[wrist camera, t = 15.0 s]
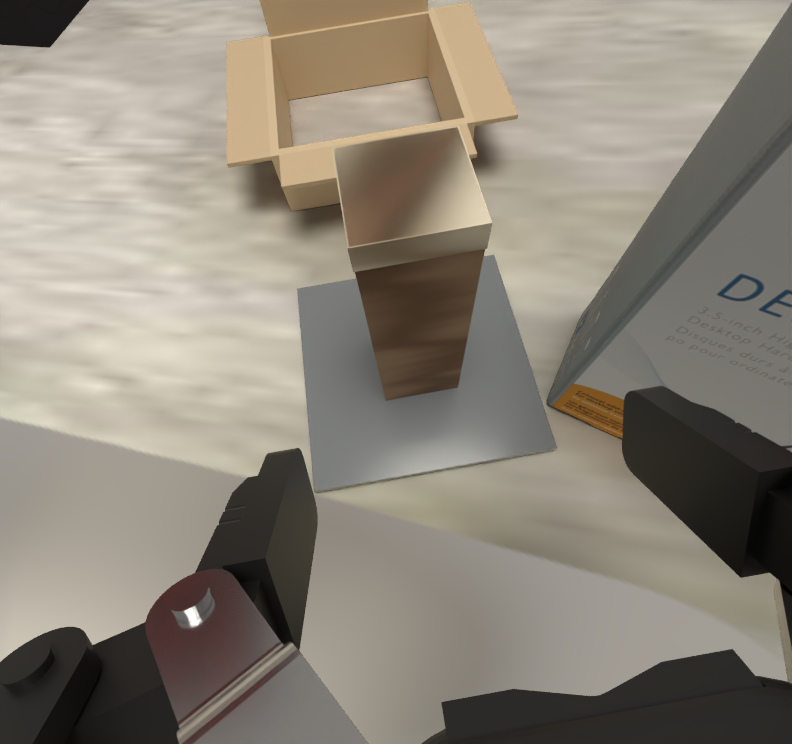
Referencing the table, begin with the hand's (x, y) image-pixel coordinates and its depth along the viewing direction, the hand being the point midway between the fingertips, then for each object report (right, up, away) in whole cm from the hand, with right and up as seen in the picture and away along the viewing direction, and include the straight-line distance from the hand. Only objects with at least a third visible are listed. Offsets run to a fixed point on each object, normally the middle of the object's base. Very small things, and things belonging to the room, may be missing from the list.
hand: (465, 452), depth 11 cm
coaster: (-1, +2, +17) cm, 17 cm away
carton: (-4, +21, +26) cm, 33 cm away
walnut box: (-1, +3, +17) cm, 17 cm away
